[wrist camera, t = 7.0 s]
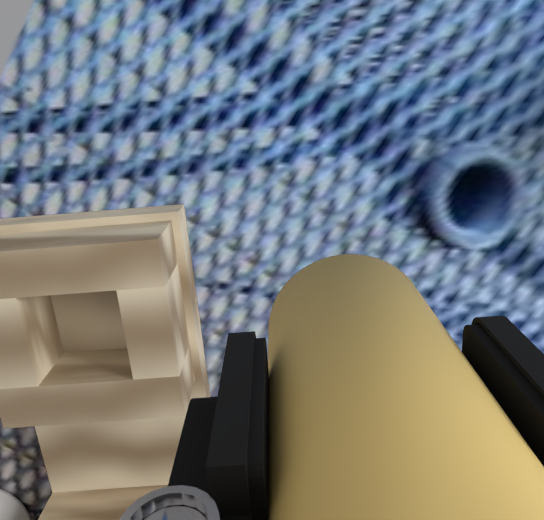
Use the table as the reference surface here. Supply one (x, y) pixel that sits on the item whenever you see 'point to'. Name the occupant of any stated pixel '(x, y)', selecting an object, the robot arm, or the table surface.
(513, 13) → the table surface
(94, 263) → the awning station
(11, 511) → the milk bottle
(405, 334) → the peg
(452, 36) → the table surface
